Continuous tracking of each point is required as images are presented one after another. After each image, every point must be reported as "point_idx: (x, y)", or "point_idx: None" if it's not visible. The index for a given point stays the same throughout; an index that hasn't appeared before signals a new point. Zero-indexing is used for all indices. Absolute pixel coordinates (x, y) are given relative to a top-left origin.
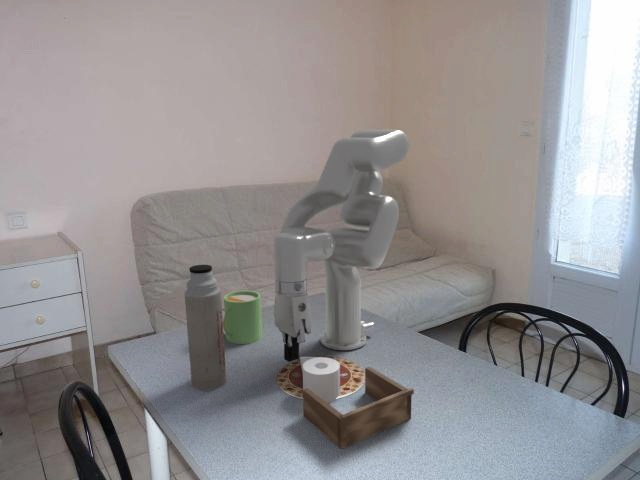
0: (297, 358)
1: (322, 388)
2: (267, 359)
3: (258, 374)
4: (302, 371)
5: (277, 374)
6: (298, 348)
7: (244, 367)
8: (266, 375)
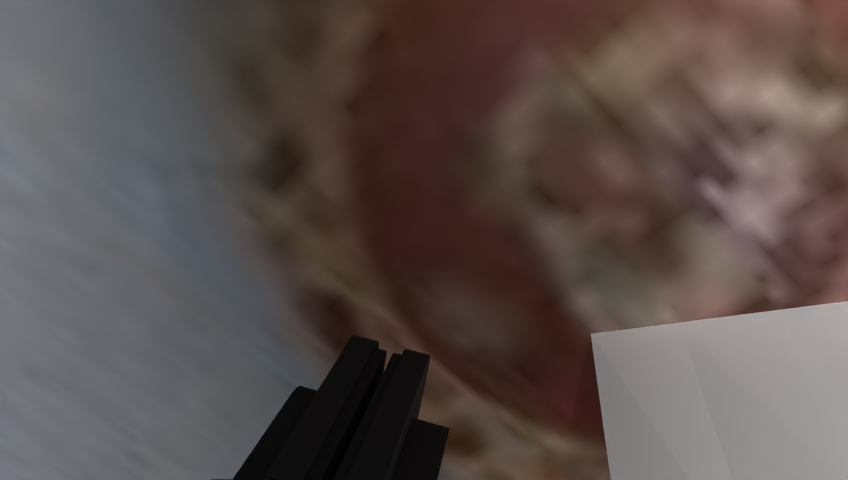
0: (426, 374)
1: None
2: (91, 277)
3: None
4: (602, 416)
5: None
6: (395, 451)
7: (124, 448)
8: None
